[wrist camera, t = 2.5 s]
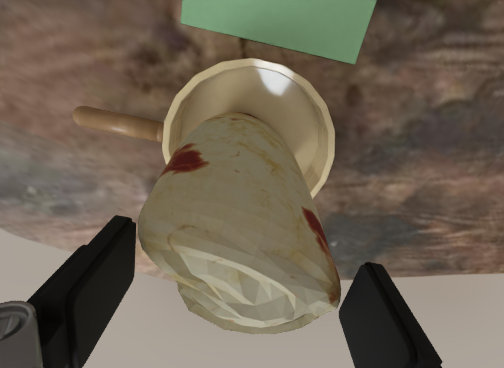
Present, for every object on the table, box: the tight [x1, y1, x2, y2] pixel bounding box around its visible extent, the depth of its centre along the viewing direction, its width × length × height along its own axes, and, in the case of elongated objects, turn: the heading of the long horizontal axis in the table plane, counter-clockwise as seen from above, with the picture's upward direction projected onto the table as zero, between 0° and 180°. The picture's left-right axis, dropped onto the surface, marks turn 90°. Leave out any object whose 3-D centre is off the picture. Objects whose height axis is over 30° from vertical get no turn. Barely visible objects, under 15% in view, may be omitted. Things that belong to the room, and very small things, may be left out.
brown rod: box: [73, 106, 164, 142], centre depth 24 cm, size 8×2×2 cm, turn 78°
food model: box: [138, 112, 341, 334], centre depth 18 cm, size 10×7×20 cm
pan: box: [162, 58, 335, 199], centre depth 26 cm, size 15×15×4 cm
